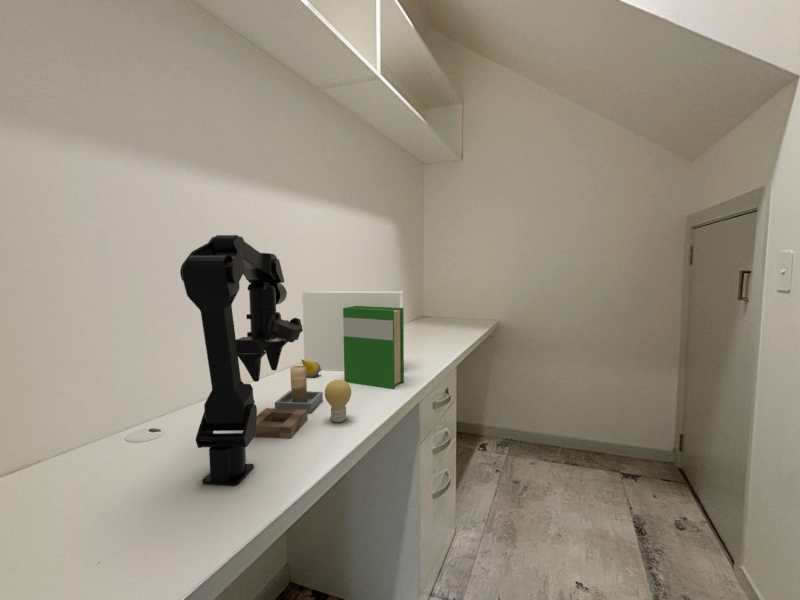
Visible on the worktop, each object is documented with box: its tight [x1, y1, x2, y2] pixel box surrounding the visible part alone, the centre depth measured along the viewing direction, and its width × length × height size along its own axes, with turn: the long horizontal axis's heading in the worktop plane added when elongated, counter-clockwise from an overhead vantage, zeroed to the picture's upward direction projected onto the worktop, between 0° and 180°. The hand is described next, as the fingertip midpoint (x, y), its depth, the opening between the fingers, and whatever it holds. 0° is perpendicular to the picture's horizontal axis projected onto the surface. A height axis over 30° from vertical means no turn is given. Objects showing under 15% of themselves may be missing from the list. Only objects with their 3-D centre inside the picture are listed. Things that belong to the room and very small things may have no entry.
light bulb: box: [324, 379, 352, 423], centre depth 96 cm, size 6×6×10 cm
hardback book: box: [343, 306, 405, 390], centre depth 126 cm, size 18×7×24 cm, turn 64°
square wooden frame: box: [254, 407, 308, 439], centre depth 92 cm, size 10×10×2 cm
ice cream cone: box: [300, 358, 322, 378], centre depth 133 cm, size 5×5×10 cm
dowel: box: [290, 365, 308, 403], centre depth 105 cm, size 4×4×10 cm
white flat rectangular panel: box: [301, 290, 404, 372], centre depth 142 cm, size 35×8×28 cm, turn 81°
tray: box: [274, 390, 324, 414], centre depth 106 cm, size 10×10×2 cm
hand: (265, 375), depth 92 cm, fingers open, 9 cm apart
